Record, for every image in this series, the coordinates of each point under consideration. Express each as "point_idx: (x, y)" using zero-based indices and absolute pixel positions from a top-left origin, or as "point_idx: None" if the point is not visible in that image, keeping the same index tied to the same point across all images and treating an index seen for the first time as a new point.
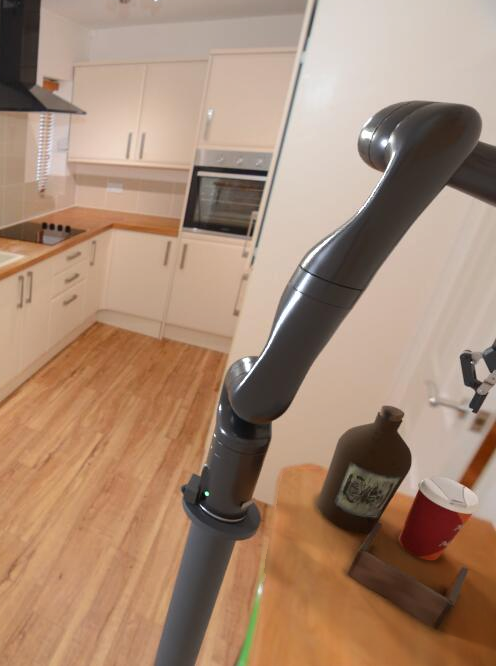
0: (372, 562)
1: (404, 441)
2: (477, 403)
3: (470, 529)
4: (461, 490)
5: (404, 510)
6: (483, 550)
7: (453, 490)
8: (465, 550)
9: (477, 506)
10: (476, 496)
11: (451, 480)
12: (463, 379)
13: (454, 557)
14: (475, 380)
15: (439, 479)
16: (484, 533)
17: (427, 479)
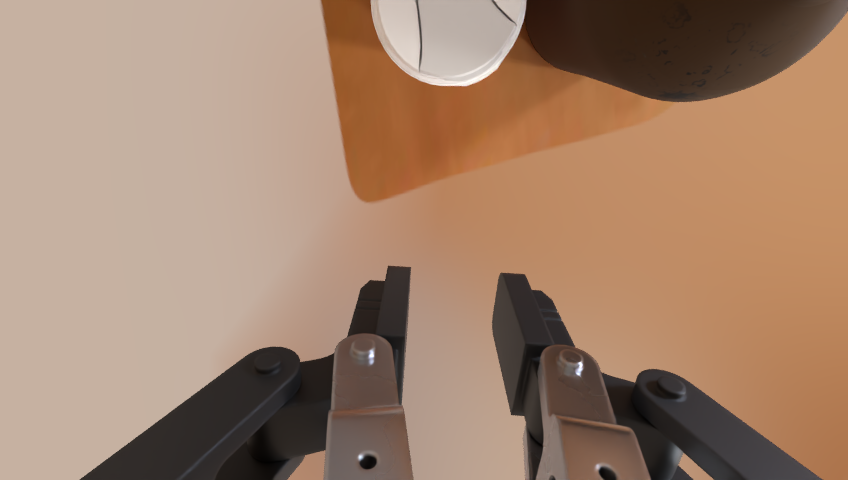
0: None
1: (676, 2)
2: (533, 303)
3: (374, 179)
4: (424, 31)
5: (479, 138)
6: (346, 127)
7: (443, 7)
8: (369, 97)
9: (376, 9)
10: (386, 33)
11: (454, 70)
12: (725, 409)
13: (381, 51)
14: (641, 448)
15: (483, 44)
16: (353, 187)
17: (515, 7)
